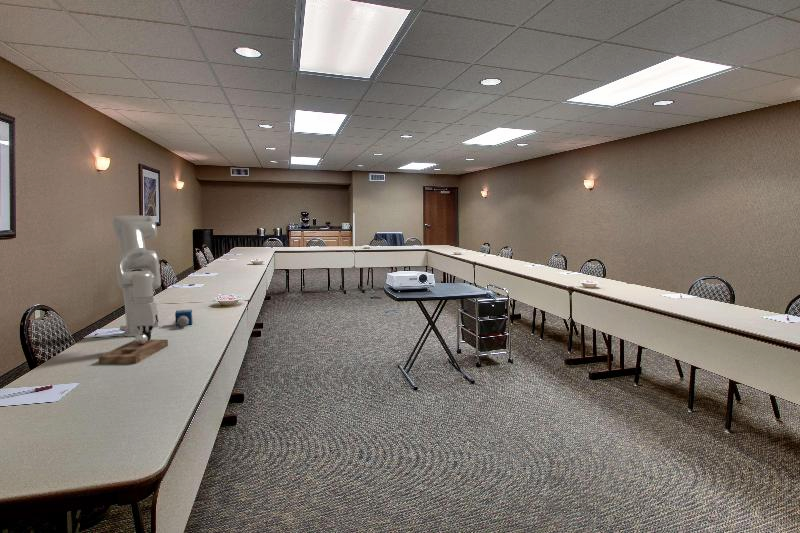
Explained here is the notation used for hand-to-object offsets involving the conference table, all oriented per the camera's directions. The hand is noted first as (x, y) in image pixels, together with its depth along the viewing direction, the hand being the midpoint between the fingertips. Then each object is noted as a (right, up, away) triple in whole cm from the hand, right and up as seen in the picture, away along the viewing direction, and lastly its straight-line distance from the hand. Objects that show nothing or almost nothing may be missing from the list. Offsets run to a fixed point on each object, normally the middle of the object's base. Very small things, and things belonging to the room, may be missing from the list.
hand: (146, 340), depth 193 cm
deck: (0, -5, -8) cm, 9 cm away
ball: (0, +1, -4) cm, 4 cm away
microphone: (-6, +1, +45) cm, 45 cm away
